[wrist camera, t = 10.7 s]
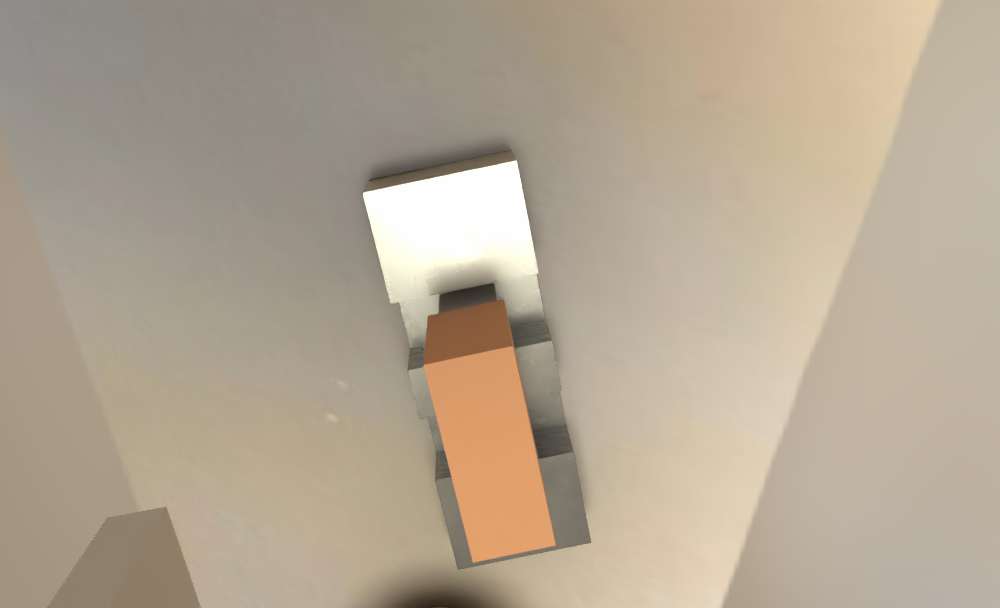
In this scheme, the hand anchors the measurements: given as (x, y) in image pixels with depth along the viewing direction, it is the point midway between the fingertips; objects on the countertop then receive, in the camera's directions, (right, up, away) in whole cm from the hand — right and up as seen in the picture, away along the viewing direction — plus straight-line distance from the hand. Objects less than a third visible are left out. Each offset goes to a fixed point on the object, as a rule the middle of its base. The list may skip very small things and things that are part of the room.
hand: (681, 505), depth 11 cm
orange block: (-3, 0, +33) cm, 33 cm away
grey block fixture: (-3, 0, +33) cm, 34 cm away
